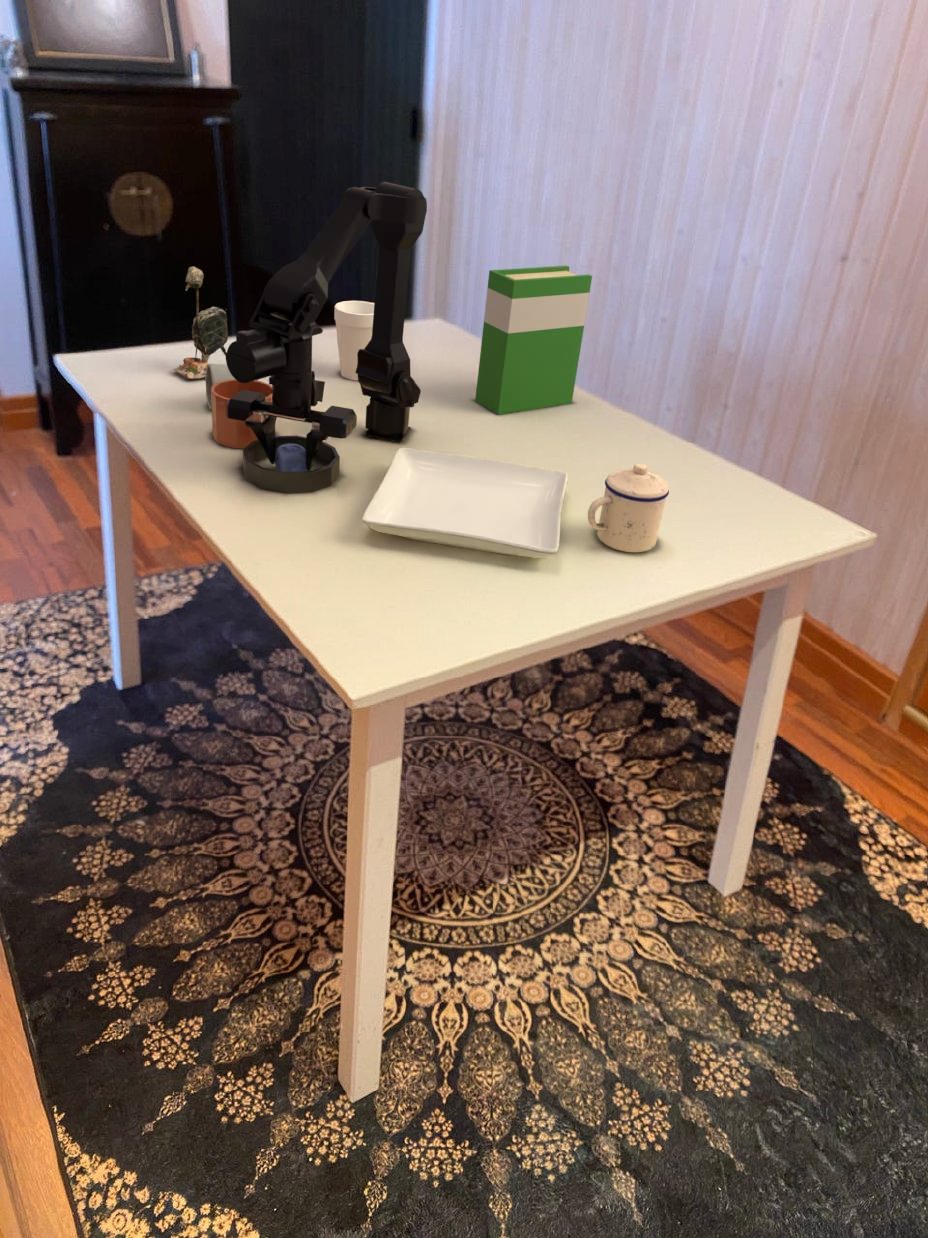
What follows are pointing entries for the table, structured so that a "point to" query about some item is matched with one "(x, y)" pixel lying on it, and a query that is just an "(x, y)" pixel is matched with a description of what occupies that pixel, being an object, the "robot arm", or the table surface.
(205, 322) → the plant with pod
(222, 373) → the ceramic mug
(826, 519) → the table surface
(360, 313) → the foam cup
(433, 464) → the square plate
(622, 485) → the teacup with lid
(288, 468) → the decorative dice
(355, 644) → the table surface
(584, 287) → the hardback book
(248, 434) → the terracotta cup
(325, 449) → the dark grey ring
